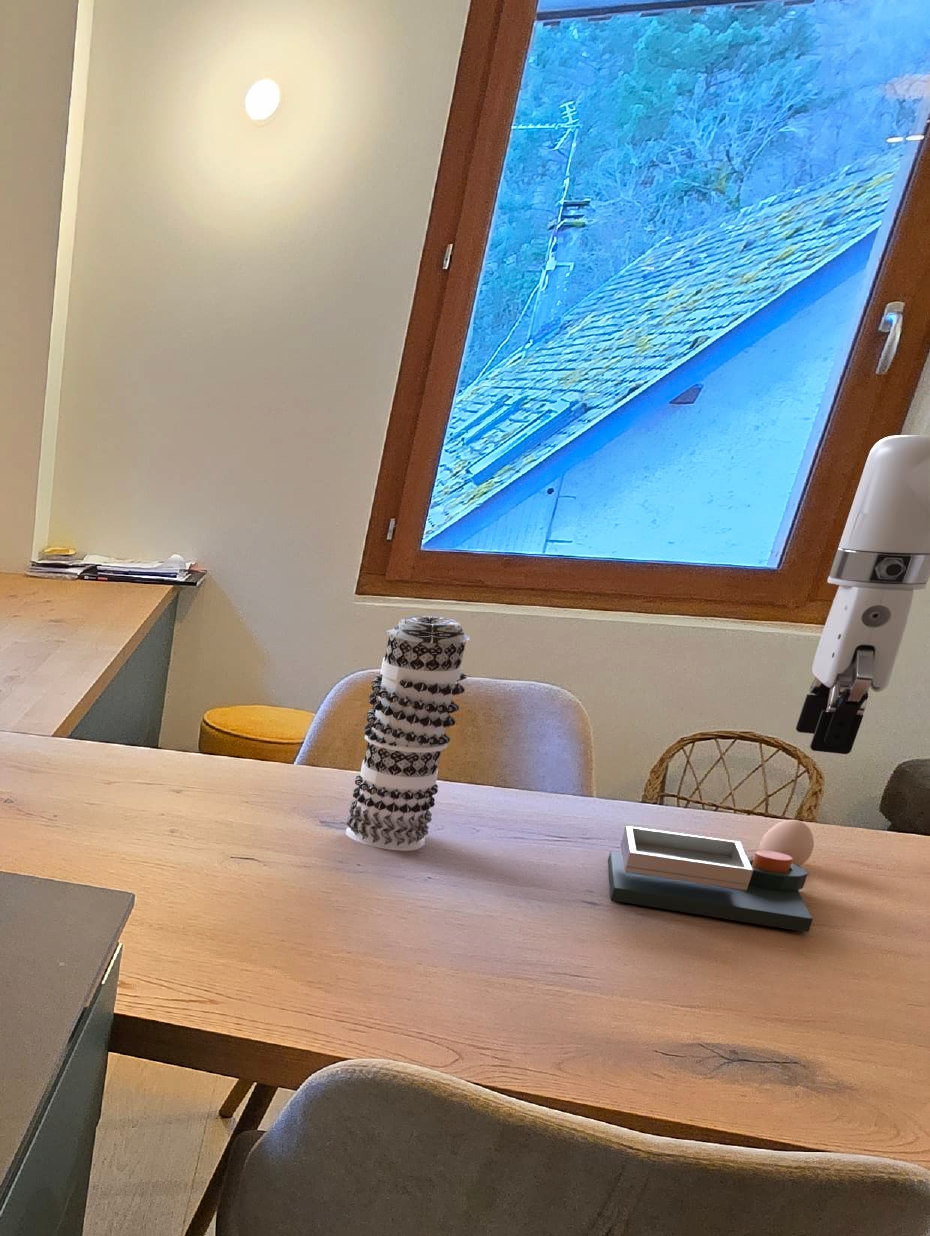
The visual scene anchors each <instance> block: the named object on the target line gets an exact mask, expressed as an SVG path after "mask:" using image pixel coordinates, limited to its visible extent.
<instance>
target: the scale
mask: <svg viewBox="0 0 930 1236" xmlns="http://www.w3.org/2000/svg"><path fill="white" fill-rule="evenodd" d="M754 857H755V856H747V858H748V860H749V862H750V864H751V867H752V869H753V873H752V876H751V879H750V882H749V884H748V888H747V890H740V889H733V888H727V887H720V886H714V885H707V884H701V883H694V882H688V881H681V880H674V879H668V878H661V877H655V876H648V875H642V874H635V873H629V872H625V871H624V864H623V857H622V852H617V851H609V855H608V857H607V869H608V871H607V872H608V884H609V896H610V901H613V902H620V903H625V904H632V905H638V906H644V907H649V908H650V907H651V908H657V909H662V910H669V911H675V912H680V913H688V914H693V915H699V916H704V917H705V916H706V917H711V918H712V917H713V918H718V919H725V920H731V921H736V922H742V923H749V924H755V925H761V926H767V927H768V926H769V927H773V928H779V929H786V930H791V931H798V932H803V933H809V932H810V929H811V926H812V923H813V920H814V919H813V917H812V915H811V912H810V910H809V908H808V907H807V904H806V902H805V901H804V899H803V897H802V894H801V893H800V891H799V890H802V889H804V886H805V883H806V880H807V878H808V875H809V872H808V871H807V869H806V868H804V867H801V866H797V865H795V864H792V863H791V866H790V868H789V871H788V872H774V871H767V870H764V869H760V868H756V867H754V866H752V863H753V860H754Z"/></svg>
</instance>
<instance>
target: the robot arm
mask: <svg viewBox="0 0 930 1236" xmlns="http://www.w3.org/2000/svg"><path fill="white" fill-rule="evenodd" d="M929 579H930V434H904V435H902V434H901V435H890V436H887V437H884V438H882V439H880V440H879V441H877V442H876V443H875V444H874V445H873V447H872V448H871V450H870V451H869V453H868V456H867V459H866V462H865V464H864V468H863V471H862V473H861V476H860V480H859V483H858V486H857V489H856V491H855V495H854V498H853V502H852V505H851V508H850V511H849V513H848V517H847V519H846V523H845V526H844V529H843V532H842V535H841V538H840V541H839V545H838V548H837V550H836V553H835V556H834V559H833V562H832V566H831V568H830V571H829V574H828V578H827V581H826V582H827V583H828V584H831V585H833V584H834V585H835V586H836V585H837V586H838V588H837V591H836V594H835V596H834V598H833V599H832V604H831V607H830V609H829V613H828V615H827V618H826V621H825V623H824V624H825V625H824V627H823V630H822V633H821V636H820V639H819V641H818V644H817V649H816V651H815V654H814V658H813V659H814V660H813V662H812V669H811V671H812V672H811V673H812V674H813V676H814V679H813V681H812V682H811V684H810V687H809V691H808V693H806V695H805V698H804V703H803V705H802V708H801V711H800V714H799V717H798V720H797V723H796V726H795V730H796V732H798V733H801V734H810V735H811V734H812V735H813V736H812V739H811V742H810V745H809V748H810V750H811V751H813V752H821V753H832V754H839V755H848V754H850V753H851V752H852V749H853V746H854V744H855V740H856V738H857V736H858V732H859V729H860V727H861V724H862V721H863V718H864V713H865V711H866V707H867V701H868V698H869V691H870V689H871V690H872V691H873V692H876V693H880V692H882V691H884V690H885V689H887V687H888V686H889V683H890V679H891V676H892V674H893V670H894V667H895V664H896V660H897V658H898V654H899V650H900V647H901V643H902V641H903V638H904V635H905V634H904V633H905V630H906V627H907V623H908V620H909V615H910V612H911V607H912V603H913V598H914V591H916V590H919V591H920V590H925V589H926V587H927V584H928V582H929Z"/></svg>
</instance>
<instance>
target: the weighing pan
mask: <svg viewBox="0 0 930 1236" xmlns="http://www.w3.org/2000/svg"><path fill="white" fill-rule="evenodd" d="M620 848H621V853H622V857H623V864H624V871H625V872H629V873H635V874H642V875H648V876H655V877H661V878H668V879H674V880H681V881H688V882H694V883H701V884H707V885H714V886H720V887H727V888H733V889H740V890H747V888H748V884H749V882H750V879H751V876H752V873H753V869H752V867H751V864H750V862H749V860H748V858H747V857H748V855H747V853H746V851H745V848H744V846H743V844H742V841H740V840H739V841H738V840H731V839H723V838H718V837H717V838H715V837H709V836H703V835H702V836H701V835H695V834H687V833H680V832H679V833H678V832H672V831H665V830H659V829H658V830H657V829H651V828H643V827H636V826H628V825H626V826H625V828H624V831H623V836H622V838H621V842H620Z"/></svg>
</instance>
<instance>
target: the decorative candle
mask: <svg viewBox="0 0 930 1236" xmlns="http://www.w3.org/2000/svg"><path fill="white" fill-rule="evenodd" d="M386 634H387V635H388V640H387V644H386V649H385V650H386V651H385V654H384V655H385V656H384V657H383V658H382V662H381V668H380V673H379V674H378V675H376V676H375V678H374V679H372V681H371V690H372V692H371V693H370V694H369V696H368V697H369V698H368V703H369V704H370V705H372V707H371V708H370V710H368V711H367V713H366V721H367V723H366V724H365V725H364V730H363V734H364V740H365V741H366V742H367V744H366V745H367V746H366V751H365V756H364V758H363V760H362V763H361V768H360V774H357V775H356V777H355V780H354V784H355V785H356V786H358V787H355V788H353V790H352V792H353V793H352V797H353V798H354V799H355V800H353V801H352V802H351V803H350V804H349V809H348V813H350V814H349V815H348V816H347V820H346V825H347V828H346V830H345V834H346V835H347V837H349V838H350V839H352V840H354V841H356V842H358V843H361V844H364V845H368V846H371V847H374V848H379V849H385V850H390V851H403V852H404V851H405V852H408V851H409V852H410V851H417V850H419V849H421V848H423V847H424V846H425V844H426V843H425V842H426V838H425V836H427V835H429V828H430V827H429V825H428V824H429V823H431V822H432V820H433V819H432V816H433V815H432V812H431V811H430V809H431V808H433V807H435V797H433V796H434V795H436V794H438V792H439V789H438V788H439V786H438V784H437V780H438V776H439V768H438V766H439V763H440V759H441V753H442V751H443V750H445V749H447V748H448V743H450V740H451V738H450V736H449V735H448V734H447V733H446V732H445V730H446V728H450V727H452V726H455V725H456V719H455V718H454V717H453V716H452V715H451V714H453V713H456V712H457V711H459V710H460V706H459V704H457V703H456V702H455V701H454V700H453V697H454V696H459V695H460V694H463V693H465V690H466V689H465V687H464V686H463V685H462V684H461V683H459V682H461V681H463V680H466V679H467V674H465V673H462V670H463V664H462V663H463V662H462V661H463V657H464V653H465V647H466V643H467V642H468V641H470V639H471V638H470V636H469V635H467V634H465V633H464V631H463V627H462V625H461V624H460V622H459V621H456V620H454V619H451V618H448V617H441V616H433V615H432V616H431V615H413V616H408V617H404V618H402V619H400V620H399V621H398V623H396V625H395V626H394V627H393V628H391V629H386Z"/></svg>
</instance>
